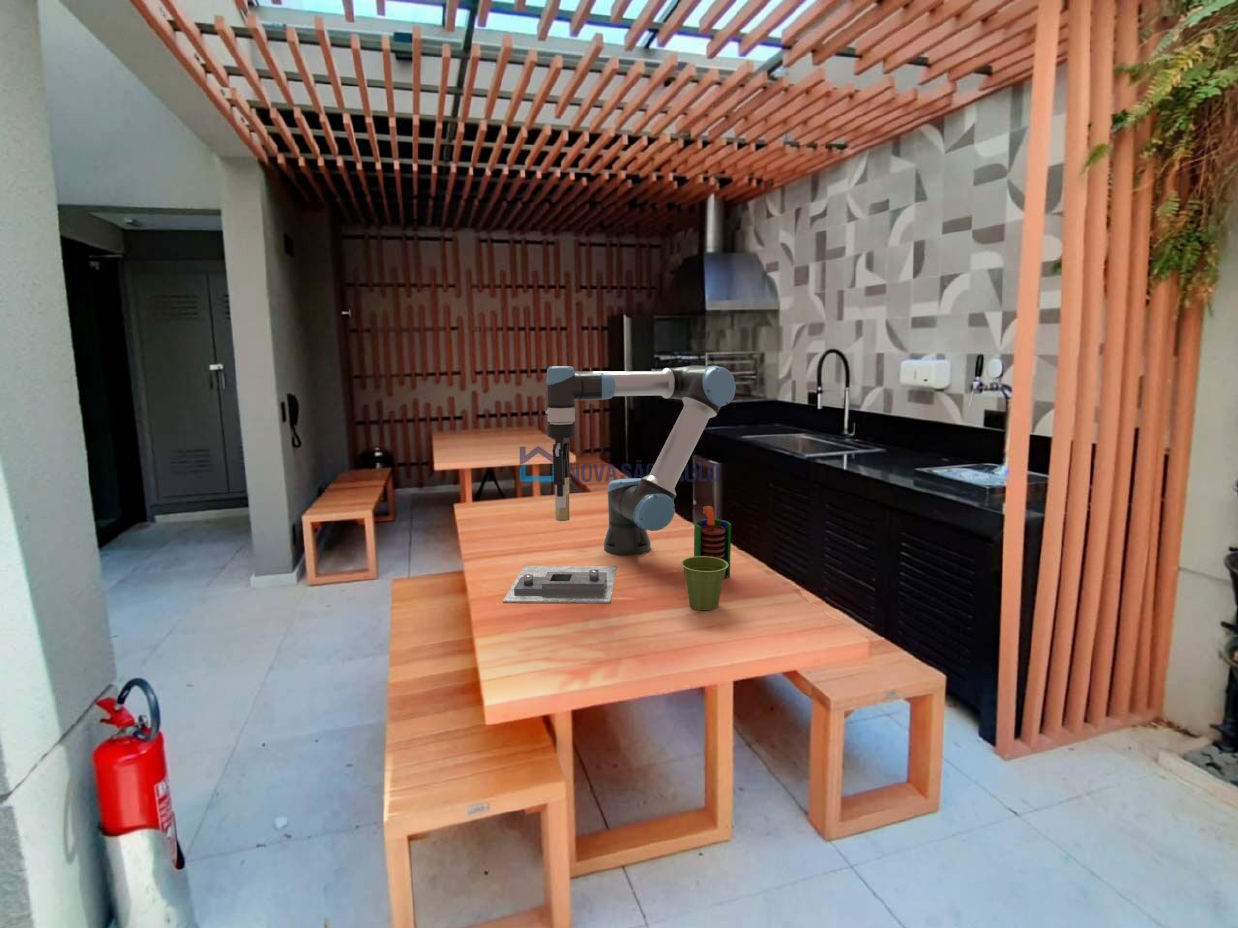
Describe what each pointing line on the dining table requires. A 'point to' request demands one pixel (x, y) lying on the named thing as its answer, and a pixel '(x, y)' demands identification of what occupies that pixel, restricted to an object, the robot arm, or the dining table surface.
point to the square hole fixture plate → (563, 584)
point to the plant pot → (704, 580)
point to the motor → (713, 538)
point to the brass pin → (563, 513)
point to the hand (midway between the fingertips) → (562, 505)
